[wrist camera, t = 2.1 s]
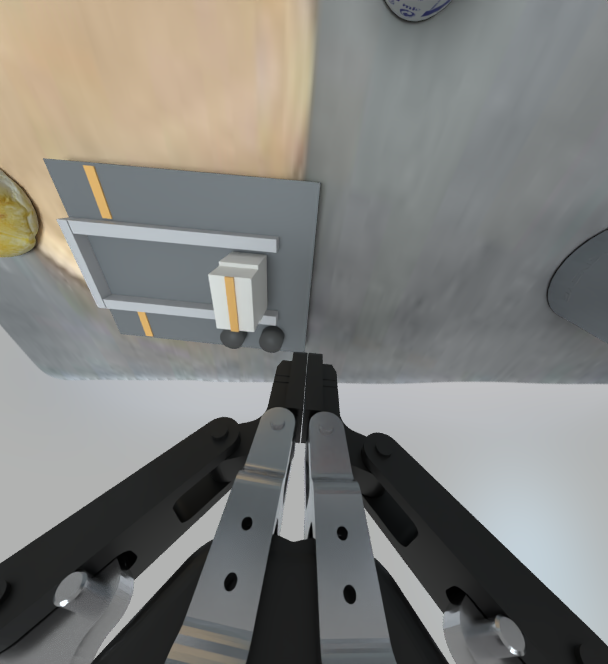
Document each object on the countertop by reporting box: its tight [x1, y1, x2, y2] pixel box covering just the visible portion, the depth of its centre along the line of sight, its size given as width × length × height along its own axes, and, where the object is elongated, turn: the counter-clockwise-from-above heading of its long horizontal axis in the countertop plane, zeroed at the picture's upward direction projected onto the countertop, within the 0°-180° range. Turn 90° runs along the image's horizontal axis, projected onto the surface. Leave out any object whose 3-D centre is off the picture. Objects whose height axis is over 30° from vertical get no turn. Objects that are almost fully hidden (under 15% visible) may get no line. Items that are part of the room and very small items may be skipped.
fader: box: [208, 252, 267, 332], centre depth 19 cm, size 3×5×5 cm, turn 176°
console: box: [43, 159, 321, 353], centre depth 22 cm, size 21×16×4 cm
